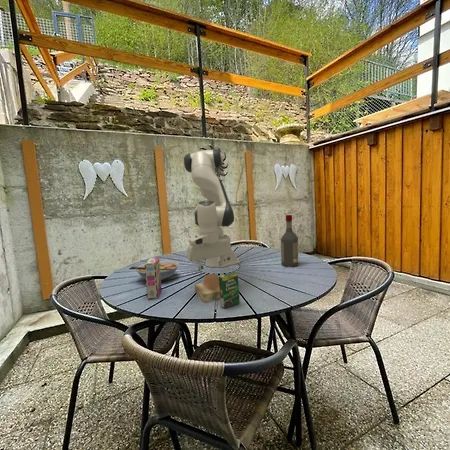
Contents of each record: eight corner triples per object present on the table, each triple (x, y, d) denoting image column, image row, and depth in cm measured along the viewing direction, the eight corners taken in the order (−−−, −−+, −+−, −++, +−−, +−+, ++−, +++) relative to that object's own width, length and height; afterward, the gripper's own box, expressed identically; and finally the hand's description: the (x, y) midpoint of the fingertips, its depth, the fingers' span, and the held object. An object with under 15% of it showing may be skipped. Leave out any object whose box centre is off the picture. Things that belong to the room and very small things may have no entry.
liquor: (280, 266, 156) (279, 216, 152) (283, 262, 165) (282, 214, 161) (296, 267, 153) (295, 216, 149) (298, 263, 161) (297, 214, 157)
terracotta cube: (214, 283, 124) (213, 273, 123) (219, 287, 119) (218, 276, 119) (204, 286, 122) (203, 275, 121) (208, 289, 117) (208, 278, 116)
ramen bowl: (188, 273, 154) (187, 259, 153) (169, 287, 132) (168, 271, 131) (150, 271, 161) (149, 258, 160) (126, 285, 139) (125, 270, 138)
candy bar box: (158, 298, 119) (155, 263, 116) (147, 299, 118) (143, 264, 116) (162, 289, 130) (159, 257, 128) (152, 290, 129) (148, 257, 127)
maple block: (218, 287, 129) (218, 279, 129) (229, 298, 117) (229, 289, 116) (195, 292, 125) (194, 284, 125) (203, 303, 112) (203, 294, 112)
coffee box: (223, 309, 105) (222, 277, 103) (219, 306, 107) (218, 275, 105) (240, 303, 109) (238, 273, 107) (236, 301, 111) (234, 271, 110)
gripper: (226, 233, 125) (228, 261, 127) (185, 239, 116) (187, 269, 118) (233, 235, 119) (234, 264, 121) (189, 241, 110) (192, 273, 112)
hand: (211, 267), depth 120 cm, fingers open, 8 cm apart
